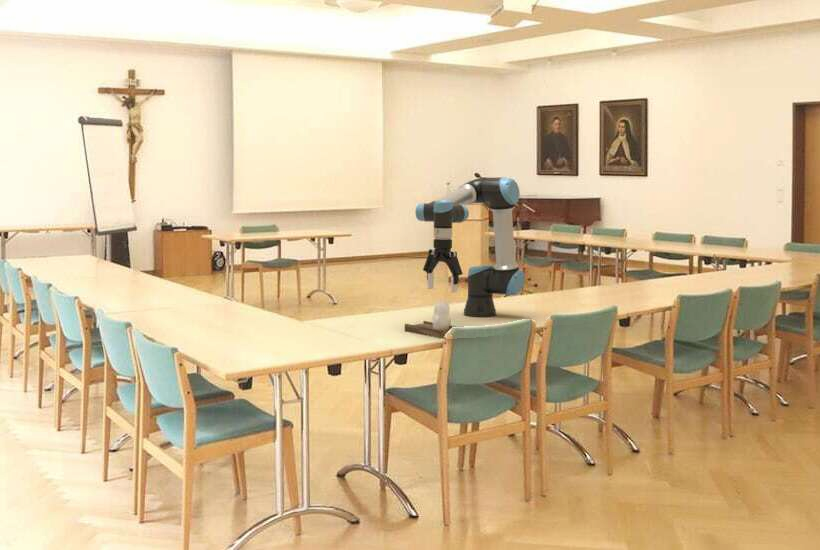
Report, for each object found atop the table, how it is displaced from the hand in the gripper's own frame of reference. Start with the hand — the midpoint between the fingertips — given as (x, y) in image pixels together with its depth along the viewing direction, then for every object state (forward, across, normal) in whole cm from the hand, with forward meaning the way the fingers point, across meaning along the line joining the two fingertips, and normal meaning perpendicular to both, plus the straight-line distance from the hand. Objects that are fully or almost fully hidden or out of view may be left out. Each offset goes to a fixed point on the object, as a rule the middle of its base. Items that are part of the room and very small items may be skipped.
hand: (442, 290), depth 364 cm
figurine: (+16, 0, 0) cm, 16 cm away
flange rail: (+18, -5, 0) cm, 19 cm away
